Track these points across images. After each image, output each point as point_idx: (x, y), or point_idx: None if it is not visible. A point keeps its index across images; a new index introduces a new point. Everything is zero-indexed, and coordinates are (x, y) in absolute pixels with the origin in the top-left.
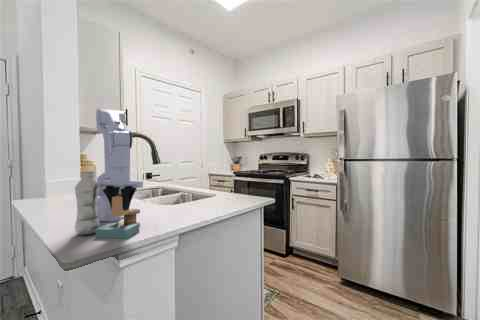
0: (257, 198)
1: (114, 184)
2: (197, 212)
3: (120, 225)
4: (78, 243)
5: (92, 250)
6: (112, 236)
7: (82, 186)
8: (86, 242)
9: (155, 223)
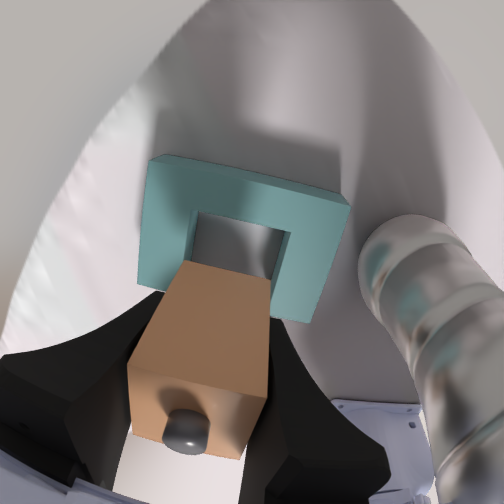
0: None
1: (77, 496)
2: None
3: None
4: (384, 115)
5: (264, 13)
6: (241, 170)
7: None
8: (352, 121)
9: None
